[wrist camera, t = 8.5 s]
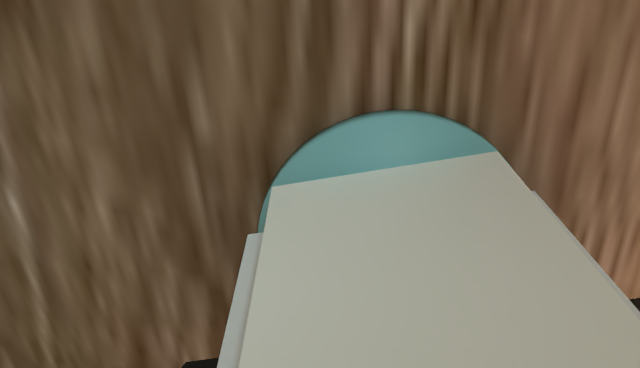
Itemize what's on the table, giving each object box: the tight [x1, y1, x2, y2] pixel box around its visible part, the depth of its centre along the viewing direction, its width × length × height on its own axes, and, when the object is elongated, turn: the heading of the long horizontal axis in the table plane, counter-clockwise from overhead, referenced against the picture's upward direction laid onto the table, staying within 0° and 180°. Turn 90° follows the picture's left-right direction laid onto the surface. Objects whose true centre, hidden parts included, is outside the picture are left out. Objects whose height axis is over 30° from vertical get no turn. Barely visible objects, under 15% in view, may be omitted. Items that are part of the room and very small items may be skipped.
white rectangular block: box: [239, 151, 640, 368], centre depth 10 cm, size 5×5×7 cm
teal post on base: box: [258, 110, 512, 233], centre depth 11 cm, size 7×7×7 cm
